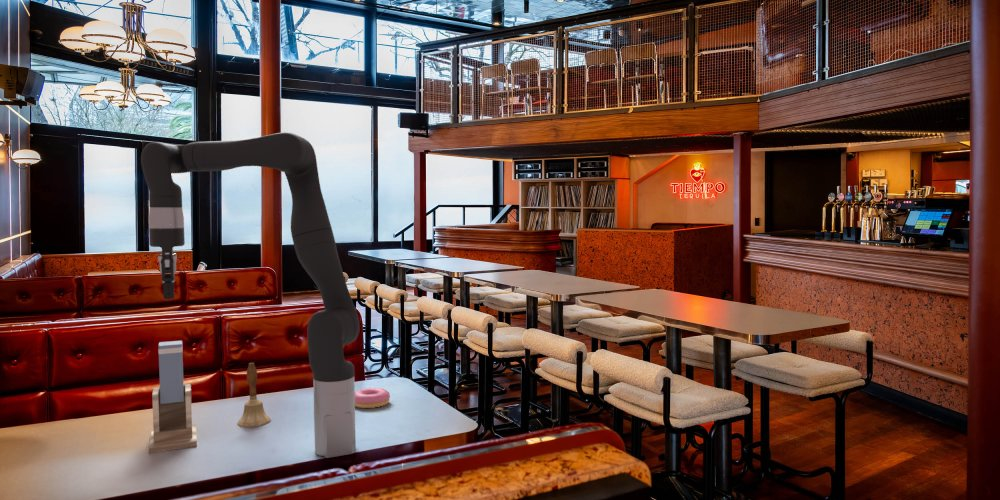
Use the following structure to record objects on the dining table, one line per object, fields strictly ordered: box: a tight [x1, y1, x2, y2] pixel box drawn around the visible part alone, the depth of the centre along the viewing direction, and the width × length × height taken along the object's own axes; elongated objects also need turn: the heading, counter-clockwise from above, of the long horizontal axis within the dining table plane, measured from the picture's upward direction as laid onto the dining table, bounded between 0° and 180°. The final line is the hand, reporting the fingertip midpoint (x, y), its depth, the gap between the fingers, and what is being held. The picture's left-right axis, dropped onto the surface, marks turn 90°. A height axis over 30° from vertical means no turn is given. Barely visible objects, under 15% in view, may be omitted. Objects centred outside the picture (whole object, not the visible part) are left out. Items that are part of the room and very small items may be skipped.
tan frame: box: [148, 383, 198, 454], centre depth 156 cm, size 14×10×13 cm
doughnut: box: [355, 387, 391, 409], centre depth 186 cm, size 11×11×4 cm
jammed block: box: [157, 340, 185, 404], centre depth 155 cm, size 5×5×14 cm
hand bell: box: [237, 362, 271, 428], centre depth 170 cm, size 8×8×16 cm
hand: (169, 297), depth 154 cm, fingers closed
